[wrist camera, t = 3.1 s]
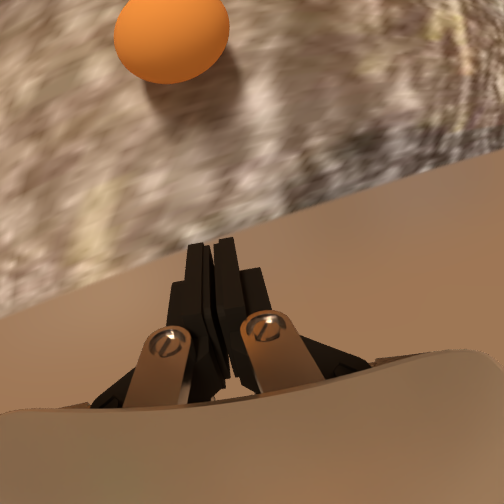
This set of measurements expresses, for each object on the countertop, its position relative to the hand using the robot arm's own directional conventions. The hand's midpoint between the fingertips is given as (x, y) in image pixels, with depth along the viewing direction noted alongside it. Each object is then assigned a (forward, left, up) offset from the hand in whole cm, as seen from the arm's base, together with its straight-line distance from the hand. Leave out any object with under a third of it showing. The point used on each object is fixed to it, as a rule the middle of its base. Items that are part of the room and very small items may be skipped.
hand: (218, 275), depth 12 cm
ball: (-1, +10, -7) cm, 13 cm away
